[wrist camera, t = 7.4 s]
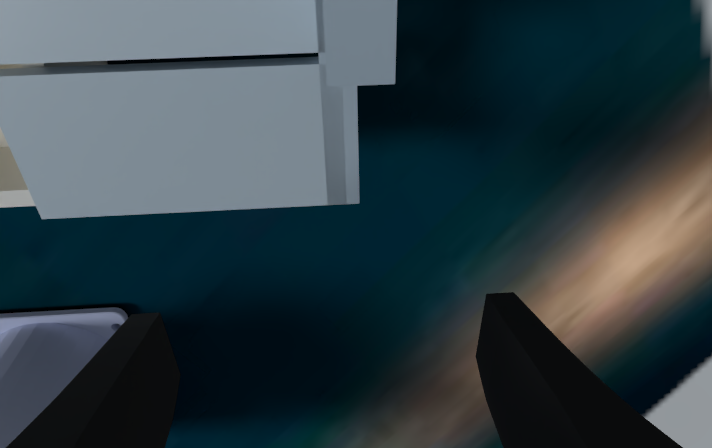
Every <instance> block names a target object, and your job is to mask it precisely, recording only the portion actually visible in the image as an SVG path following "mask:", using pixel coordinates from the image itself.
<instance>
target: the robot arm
mask: <svg viewBox="0 0 712 448" xmlns="http://www.w3.org/2000/svg"><path fill="white" fill-rule="evenodd" d="M117 324H119V325H117ZM476 359H477V364H478V368H479V372H480V377H481V381H482V385H483V389H484V393H485V397H486V401H487V403H488V406H489V409H490V412H491V415H492V417H493V420H494V423H495V426H496V428H497V431H498V434H499V437H500V439H501V442H502V445H503V447H504V448H683V447H681V446H680V445H678V444H677V443H676V442H675V441H673V440H672V439H671V438H670V437H668V436H667V435H665V434H664V433H663V432H662V431H661V430H659V429H658V428H657V427H655V426H654V425H653V424H652V423H650V422H649V421H648V420H646V419H645V418H644V417H643V416H641V415H640V414H639V413H638V412H637V411H635V410H634V409H633V408H632V407H631V406H629V405H628V404H627V403H626V402H625V401H624V400H622V399H621V398H620V397H619V396H618V395H617V394H616V393H615V392H613V391H612V390H611V389H610V388H609V387H608V386H607V385H606V384H604V383H603V382H602V381H601V380H600V379H599V378H598V377H597V376H596V375H595V374H594V373H593V372H591V371H590V370H589V369H588V368H587V367H586V366H585V365H584V364H583V363H582V362H581V361H580V360H579V359H578V358H577V357H576V356H575V355H574V354H573V353H572V352H571V351H570V350H569V349H568V348H567V347H566V346H565V345H564V344H563V343H562V342H561V341H560V340H559V339H558V338H557V337H556V336H555V335H554V334H553V333H552V332H551V331H550V330H549V329H548V328H547V327H546V326H545V325H544V324H543V323H542V322H541V321H540V320H539V318H538V317H537V316H536V315H535V314H534V313H533V312H532V311H531V310H530V309H529V308H528V307H527V306H526V305H525V304H524V303H523V302H522V301H521V300H520V298H519V297H518V296H517V295H516V294H514V293H513V292H512V293H494V294H486V299H485V305H484V311H483V317H482V323H481V329H480V335H479V340H478V346H477V352H476ZM180 375H181V374H180V371H179V368H178V365H177V362H176V359H175V356H174V353H173V350H172V347H171V344H170V341H169V338H168V335H167V332H166V329H165V326H164V323H163V320H162V317H161V314H160V313H144V314H131V316H130V317H129V318H128V316H127V314H126V312H125V311H124V310H122V309H120V308H115V307H111V308H93V309H75V310H58V311H40V312H22V313H5V314H0V448H165V444H166V441H167V438H168V434H169V431H170V427H171V424H172V421H173V416H174V410H175V405H176V400H177V394H178V387H179V381H180Z"/></svg>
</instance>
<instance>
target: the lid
mask: <svg viewBox="0 0 712 448" xmlns="http://www.w3.org/2000/svg"><path fill="white" fill-rule="evenodd" d="M396 31H397V0H0V65H4V64H30V63H57V62H84V61H110V60H137V59H163V58H190V57H216V56H243V55H270V54H296V53H318V56H319V57H299V58H272V59H246V60H220V61H193V62H167V63H141V64H114V65H88V66H62V67H35V68H9V69H0V128H1V130H2V132H3V134H4V137H5V139H6V141H7V143H8V145H9V148H10V150H11V152H12V154H13V157H14V159H15V161H16V163H17V165H18V168H19V170H20V172H21V174H22V176H23V179H24V181H25V183H26V185H27V188H28V190H29V192H30V194H31V196H32V199H33V201H34V203H35V205H36V207H37V210H38V212H39V214H40V216H41V219H56V218H76V217H96V216H116V215H136V214H156V213H177V212H197V211H217V210H237V209H257V208H278V207H298V206H318V205H338V204H358V203H359V157H358V105H357V86H362V85H387V84H395V72H396Z"/></svg>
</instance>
